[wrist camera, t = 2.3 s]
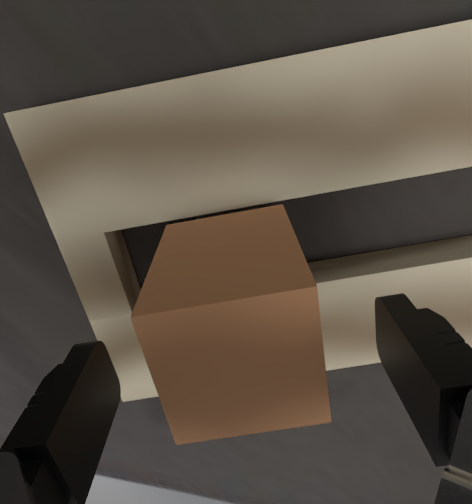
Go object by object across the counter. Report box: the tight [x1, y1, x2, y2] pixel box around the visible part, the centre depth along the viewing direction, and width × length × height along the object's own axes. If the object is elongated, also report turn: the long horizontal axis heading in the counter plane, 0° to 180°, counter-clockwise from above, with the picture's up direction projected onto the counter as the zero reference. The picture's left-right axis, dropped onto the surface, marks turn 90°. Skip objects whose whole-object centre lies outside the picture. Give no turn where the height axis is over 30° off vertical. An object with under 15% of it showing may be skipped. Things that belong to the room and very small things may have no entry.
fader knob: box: [130, 204, 331, 445], centre depth 14 cm, size 4×4×9 cm
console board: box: [3, 19, 472, 402], centre depth 17 cm, size 14×30×2 cm, turn 100°
